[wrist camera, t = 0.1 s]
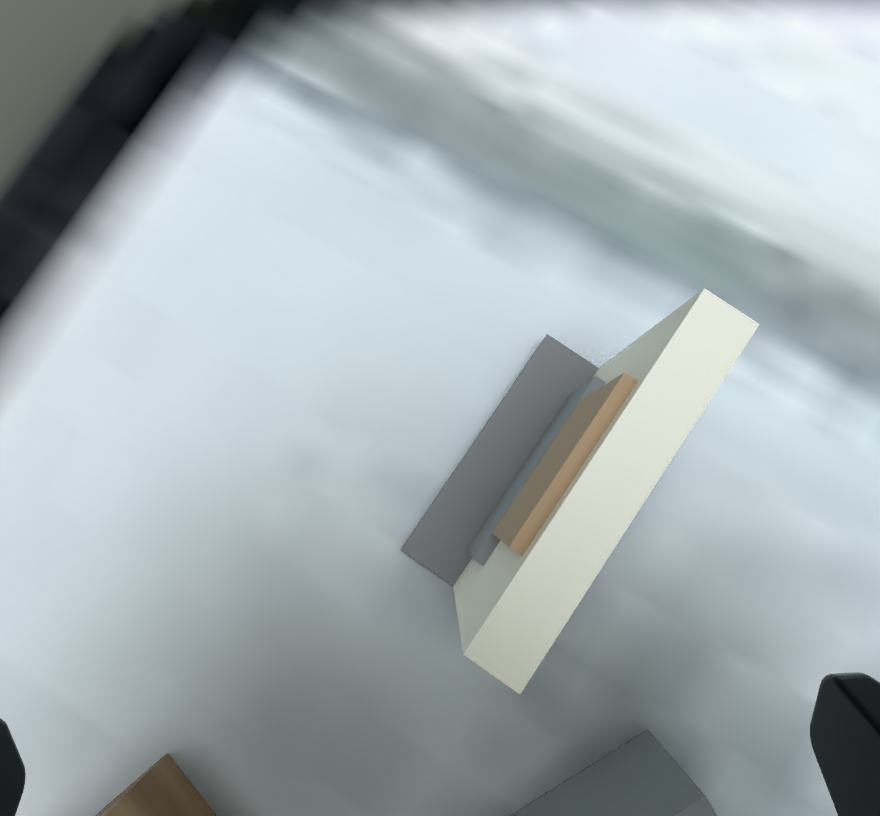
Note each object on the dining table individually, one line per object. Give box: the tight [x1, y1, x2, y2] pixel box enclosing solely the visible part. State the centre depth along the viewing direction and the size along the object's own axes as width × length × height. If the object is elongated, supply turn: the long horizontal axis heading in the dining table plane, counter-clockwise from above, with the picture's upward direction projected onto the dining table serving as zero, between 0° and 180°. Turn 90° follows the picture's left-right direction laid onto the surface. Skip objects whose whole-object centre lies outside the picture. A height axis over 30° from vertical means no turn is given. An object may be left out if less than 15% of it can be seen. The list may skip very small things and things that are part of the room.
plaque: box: [401, 288, 759, 694], centre depth 18 cm, size 8×5×10 cm, turn 146°
